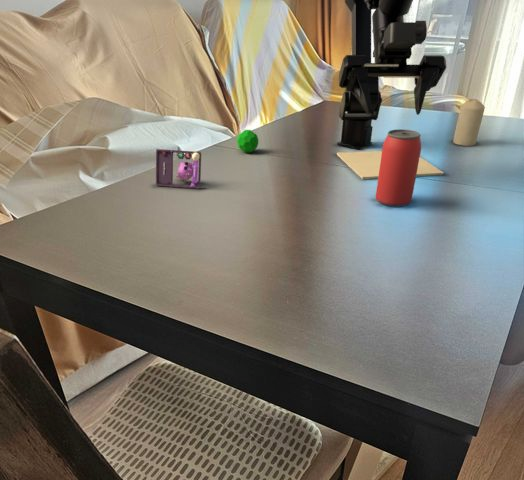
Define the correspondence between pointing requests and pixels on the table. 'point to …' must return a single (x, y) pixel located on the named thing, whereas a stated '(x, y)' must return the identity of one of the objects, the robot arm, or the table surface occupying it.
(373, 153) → the centre mat
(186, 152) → the packaged toy box
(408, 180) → the beer can
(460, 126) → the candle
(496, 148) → the table surface
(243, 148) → the polyhedron
